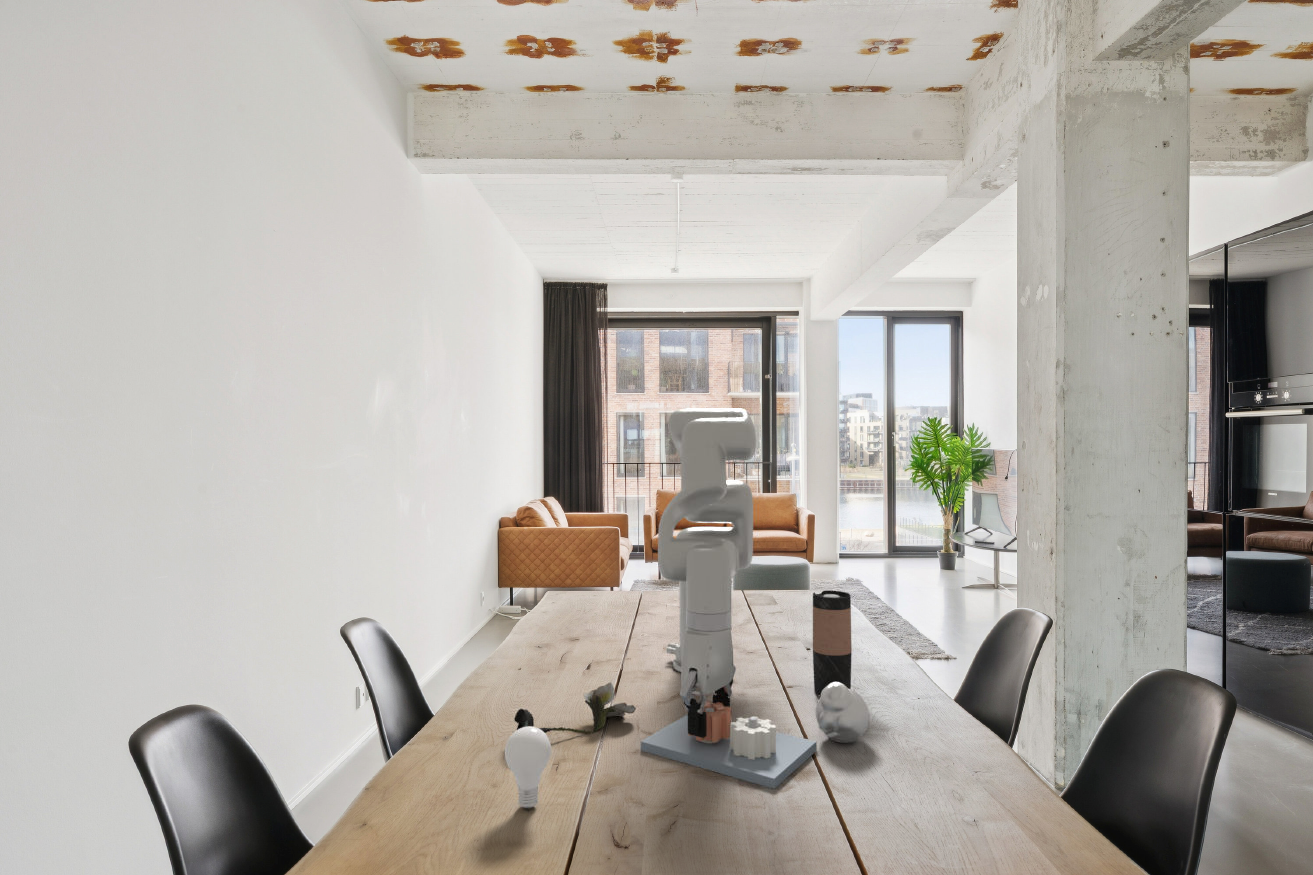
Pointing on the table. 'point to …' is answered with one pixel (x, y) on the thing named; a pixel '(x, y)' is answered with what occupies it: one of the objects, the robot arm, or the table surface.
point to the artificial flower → (595, 702)
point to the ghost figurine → (842, 713)
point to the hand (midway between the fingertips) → (709, 726)
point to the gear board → (730, 753)
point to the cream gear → (753, 738)
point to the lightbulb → (528, 761)
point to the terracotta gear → (717, 722)
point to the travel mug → (831, 639)
